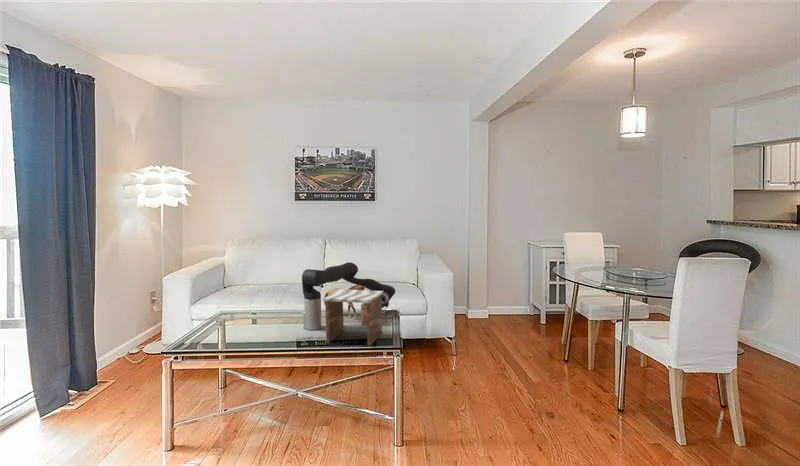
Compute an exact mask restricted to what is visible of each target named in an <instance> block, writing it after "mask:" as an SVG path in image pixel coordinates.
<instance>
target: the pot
mask: <svg viewBox="0 0 800 466" xmlns="http://www.w3.org/2000/svg"><path fill="white" fill-rule="evenodd" d="M360 308H361V309H360V310H361V312H360V315H361V316H360V317H361V325H362V326H367V303H361V305H360Z"/></svg>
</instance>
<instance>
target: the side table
mask: <svg viewBox="0 0 800 466" xmlns="http://www.w3.org/2000/svg"><path fill="white" fill-rule="evenodd" d="M348 289H349V288H347V289H346V288H345V289H344V288H343V289H342V288H339V290H337V291H335V292H333V293H332V294H330V295H328V296H326V297H325V296H324V297H323V299H322V301H325V304H324V306H325V335H326V336H325V338H326V339H325V340H326V341H325V342H326V343H328V344H330V343H331V342H332V341H333V340H335V339H336V338H337V337H338V336H340V335H341V334H342V333H344V332H345V330H344V303H347V302H353V303H361V304H363V303H367V325H366V328H367V329H366V330H367V331H366V332H367V334H366V335H367V338H366V339H367V346H368V347H371V346H372V345H373V344H374V343H375V342H376V341H377V339H379V337H381V336H382V334H383V321H382V320H383V319H382V318H383V317H382V315H383V312H382V311H383V308H382V301H381V295H382V294H383V291H371V290H369V289H367V290H366V289H364V290H348Z"/></svg>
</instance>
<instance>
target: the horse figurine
mask: <svg viewBox="0 0 800 466" xmlns="http://www.w3.org/2000/svg"><path fill="white" fill-rule="evenodd" d="M339 289H340V288H339V287H338V288H334V289H333V288H332V289H330V290H328V291H327V292H326V293H325V294H324V298H325V297H326V296H328V295H330V294H332V293H333V292H335V291H337V290H339ZM347 289H348V290H365V286H361V285H356V284H354V285H353V286H351V287H349V288H347ZM346 303H347V304H348V305H347V315H348V318H349V319H350V318H351V319H352V317H353V316H352V315H351V314H350V309H352V310H353V313H354V320H355V321H357V319H358V317H357V315H358V314H357V311H356V308H355V306H354V302H346ZM323 304H324V305H325V301H324V302H323Z"/></svg>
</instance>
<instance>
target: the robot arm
mask: <svg viewBox="0 0 800 466" xmlns="http://www.w3.org/2000/svg"><path fill="white" fill-rule="evenodd" d="M358 272H359V268H358V265H356V264H355V263H354V262H346V263H343V264H339V265H334V266H332V265H331V266H328V267H326V268H325V269H324V270H319V269H309V268H308V269H305V270H303V272H302V275H301V287H302V293H303V299H304V300H303V301H304V303H303V306H304V311H303V313H302V315H303V316H302V317H303V319H302V320H303V329H304V330H307V331H316V330H320V329H322V327H323V326H322V325H323V323H322V322H323V321H322V320H323V319H322V294H321V292H320V291H318V290H316V288H315V287H321V286H322V285H326V284H328V283H334V282H338V281H340V280H344V281H346V282H348V283H350V284H354V285H361V286H365V287H364V289H367V290H370V291H383V294H382V295H381V301H382V309H384V308H387V307H389V305H390V300H391V299H392V297H394V295H395V294H396V289H395V288H394V287H393V286H392V285H389V284H383V283H381V282H378V281H377V280H376V279H373V278H357V277H356V275H357V273H358Z"/></svg>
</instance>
